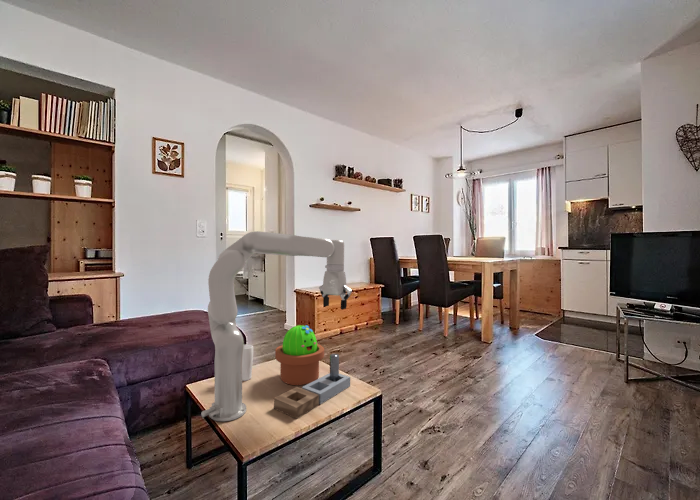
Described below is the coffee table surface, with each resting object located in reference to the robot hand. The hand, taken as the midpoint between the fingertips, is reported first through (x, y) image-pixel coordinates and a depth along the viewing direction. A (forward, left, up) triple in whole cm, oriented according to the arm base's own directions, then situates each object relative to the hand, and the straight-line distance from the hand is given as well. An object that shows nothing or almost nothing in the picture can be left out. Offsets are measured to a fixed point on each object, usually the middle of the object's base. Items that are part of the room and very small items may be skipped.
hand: (334, 307), depth 139 cm
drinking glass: (-18, +38, -35) cm, 55 cm away
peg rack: (-5, 0, -35) cm, 35 cm away
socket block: (-22, +1, -35) cm, 41 cm away
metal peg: (0, 0, -35) cm, 35 cm away
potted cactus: (-2, +19, -35) cm, 40 cm away
